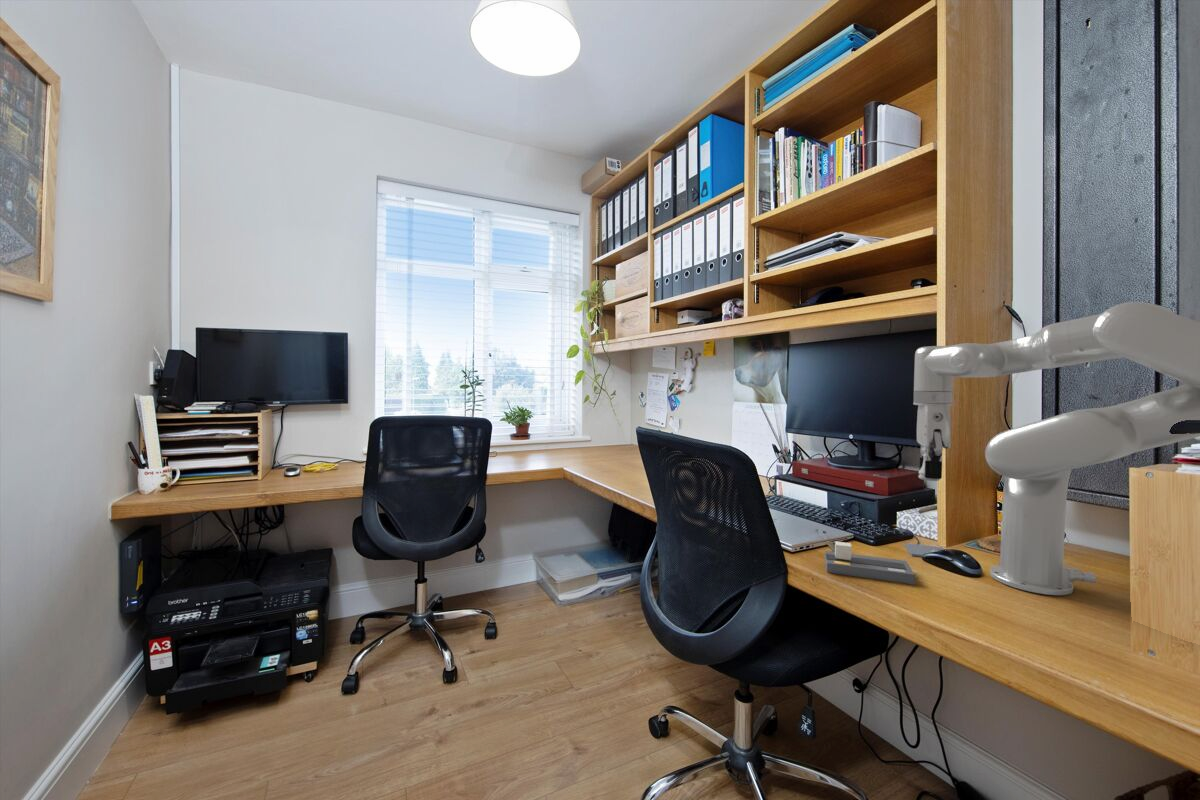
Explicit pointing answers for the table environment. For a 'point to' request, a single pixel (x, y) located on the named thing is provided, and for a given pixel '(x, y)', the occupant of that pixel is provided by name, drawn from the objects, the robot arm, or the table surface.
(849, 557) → the switch tab
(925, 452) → the rook chess piece
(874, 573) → the grey rectangular tray
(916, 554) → the rest mat
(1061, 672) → the table surface
